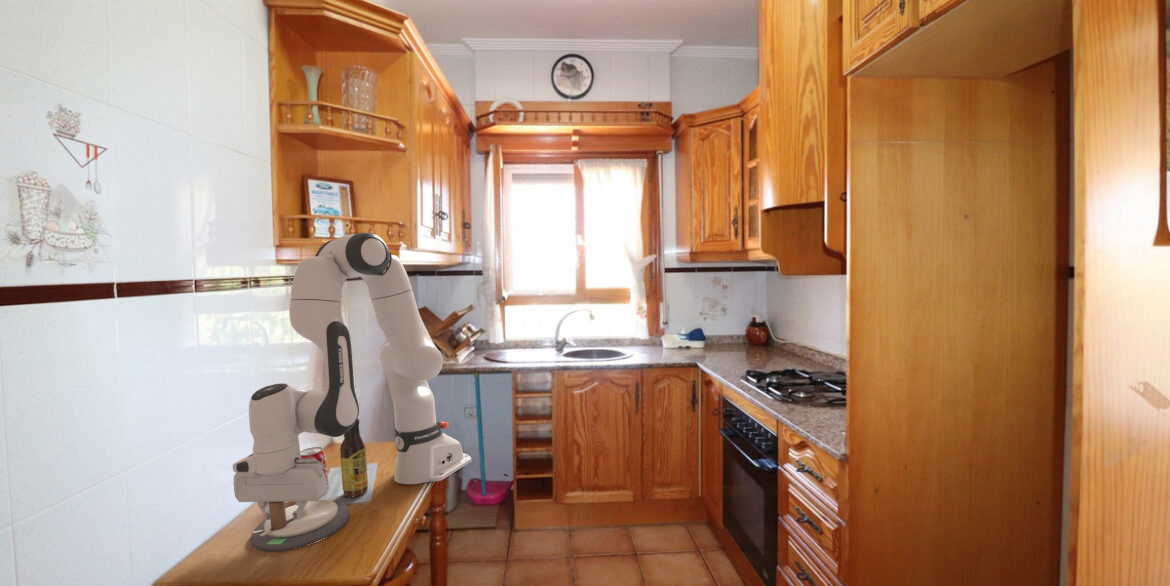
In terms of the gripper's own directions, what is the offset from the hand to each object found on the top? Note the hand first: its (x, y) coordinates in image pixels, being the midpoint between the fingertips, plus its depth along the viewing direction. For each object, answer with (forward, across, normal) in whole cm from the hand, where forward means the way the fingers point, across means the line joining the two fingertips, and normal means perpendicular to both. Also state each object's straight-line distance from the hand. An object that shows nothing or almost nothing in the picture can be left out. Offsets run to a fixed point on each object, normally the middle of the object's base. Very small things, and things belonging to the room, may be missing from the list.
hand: (284, 518), depth 114 cm
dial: (+3, 0, -4) cm, 5 cm away
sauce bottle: (+5, -3, -23) cm, 23 cm away
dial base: (+5, 0, -5) cm, 7 cm away
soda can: (+5, +9, -22) cm, 24 cm away
